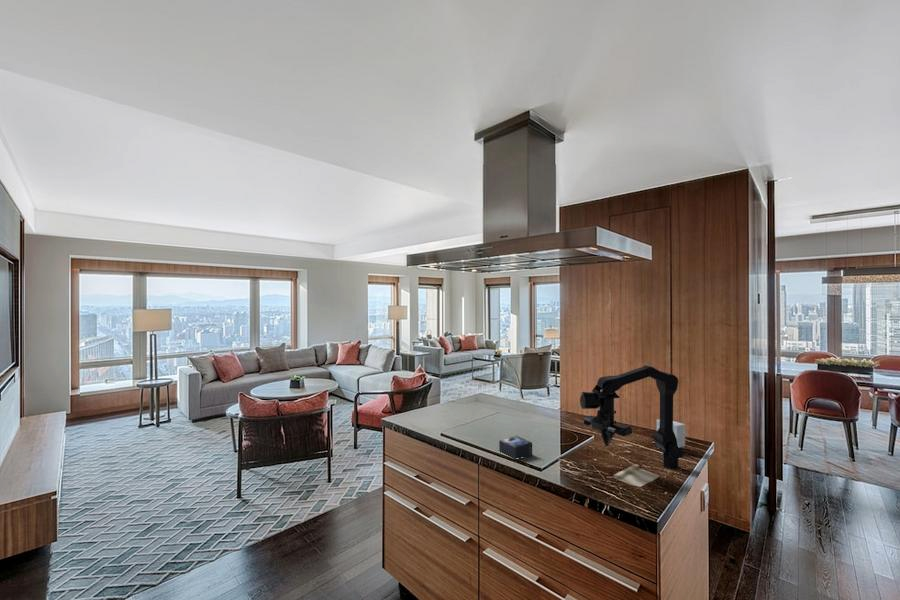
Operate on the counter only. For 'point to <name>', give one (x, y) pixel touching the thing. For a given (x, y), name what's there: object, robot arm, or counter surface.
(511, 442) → the small box
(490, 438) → the counter surface
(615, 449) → the counter surface
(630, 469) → the board
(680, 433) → the skincare box
